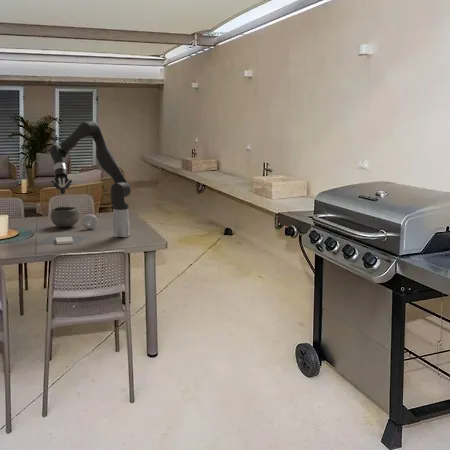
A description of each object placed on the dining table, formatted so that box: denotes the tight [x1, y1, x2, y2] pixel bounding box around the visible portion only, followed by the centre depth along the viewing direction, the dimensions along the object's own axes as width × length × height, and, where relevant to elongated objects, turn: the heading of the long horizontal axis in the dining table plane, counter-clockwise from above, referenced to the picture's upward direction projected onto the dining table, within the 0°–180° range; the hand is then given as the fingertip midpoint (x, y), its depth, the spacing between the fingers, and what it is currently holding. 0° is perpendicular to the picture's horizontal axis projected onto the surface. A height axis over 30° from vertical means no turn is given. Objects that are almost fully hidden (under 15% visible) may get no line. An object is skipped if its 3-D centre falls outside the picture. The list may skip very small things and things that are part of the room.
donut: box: [81, 213, 99, 230], centre depth 345 cm, size 10×4×10 cm, turn 103°
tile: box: [56, 237, 73, 246], centre depth 308 cm, size 2×9×12 cm
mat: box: [36, 234, 89, 246], centre depth 314 cm, size 24×24×1 cm
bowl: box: [50, 206, 80, 229], centre depth 352 cm, size 18×18×13 cm
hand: (62, 193), depth 324 cm, fingers closed
